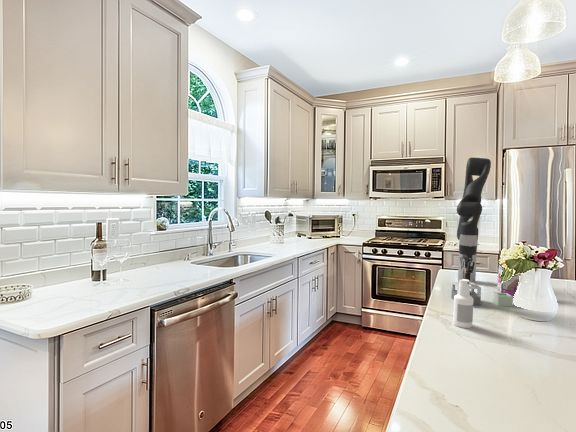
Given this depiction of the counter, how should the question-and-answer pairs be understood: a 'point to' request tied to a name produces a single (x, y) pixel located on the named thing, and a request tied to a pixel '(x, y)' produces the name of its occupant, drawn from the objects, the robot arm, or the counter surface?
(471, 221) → the robot arm
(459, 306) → the spray bottle
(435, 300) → the counter surface
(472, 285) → the box
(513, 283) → the candy bar box
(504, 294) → the green square hole block
